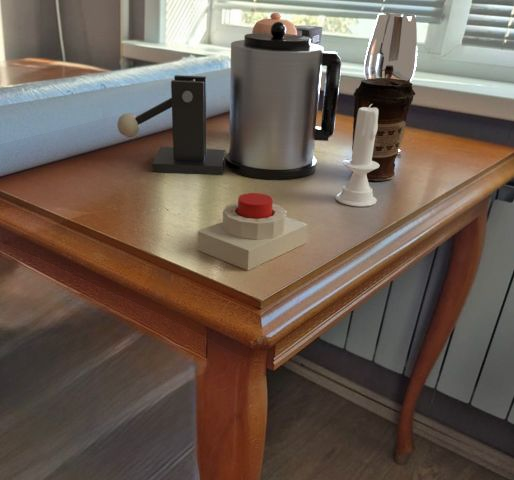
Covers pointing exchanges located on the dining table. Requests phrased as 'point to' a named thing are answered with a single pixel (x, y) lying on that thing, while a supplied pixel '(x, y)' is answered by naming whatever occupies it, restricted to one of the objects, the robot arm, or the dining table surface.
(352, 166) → the candle
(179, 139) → the switch bracket
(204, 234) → the power block
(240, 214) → the power button
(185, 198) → the dining table surface
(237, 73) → the kettle
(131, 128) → the lever switch
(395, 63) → the wineglass
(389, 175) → the coffee cup
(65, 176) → the dining table surface
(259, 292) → the dining table surface
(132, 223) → the dining table surface
